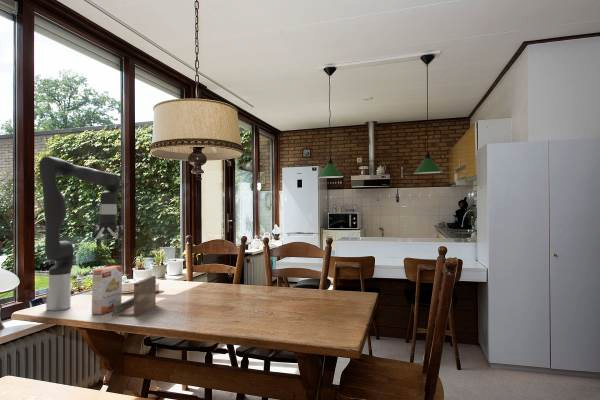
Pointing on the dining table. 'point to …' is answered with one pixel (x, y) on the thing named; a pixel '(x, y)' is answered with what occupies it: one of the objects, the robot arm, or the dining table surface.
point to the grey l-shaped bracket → (138, 299)
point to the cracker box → (106, 289)
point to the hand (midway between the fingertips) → (107, 246)
